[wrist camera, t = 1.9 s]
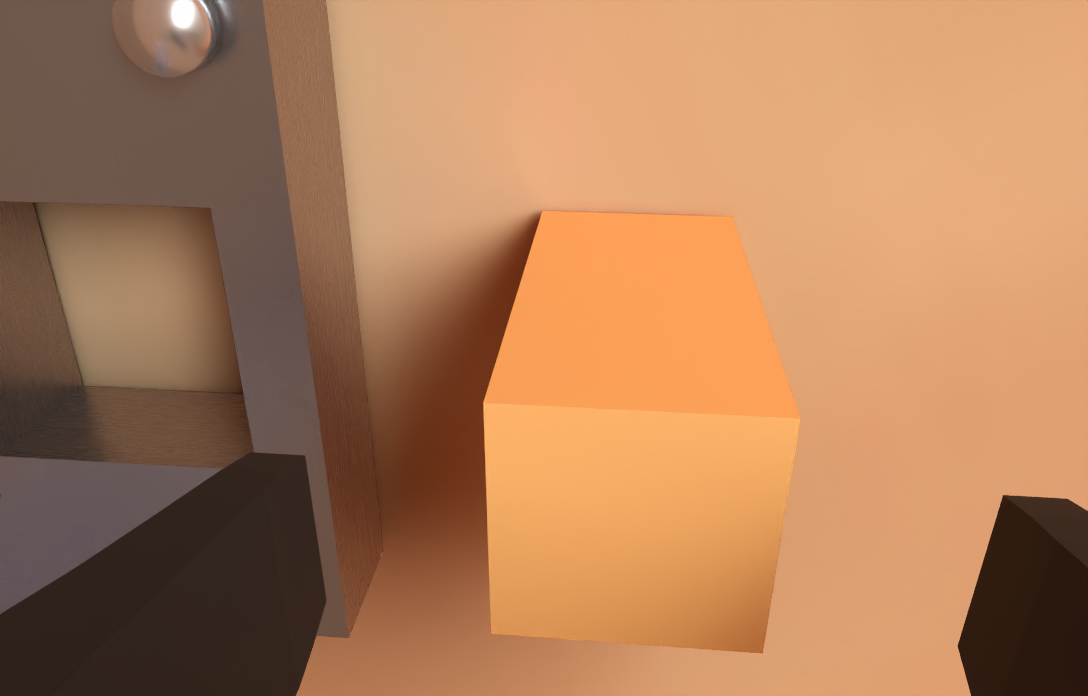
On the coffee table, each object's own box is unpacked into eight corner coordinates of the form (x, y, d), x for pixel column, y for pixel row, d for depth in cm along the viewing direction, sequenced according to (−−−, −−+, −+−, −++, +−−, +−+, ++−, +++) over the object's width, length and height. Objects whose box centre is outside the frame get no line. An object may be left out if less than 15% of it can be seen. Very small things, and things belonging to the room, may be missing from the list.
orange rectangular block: (714, 383, 16) (762, 652, 10) (542, 375, 16) (490, 633, 10) (732, 216, 14) (800, 418, 8) (542, 211, 15) (483, 402, 9)
